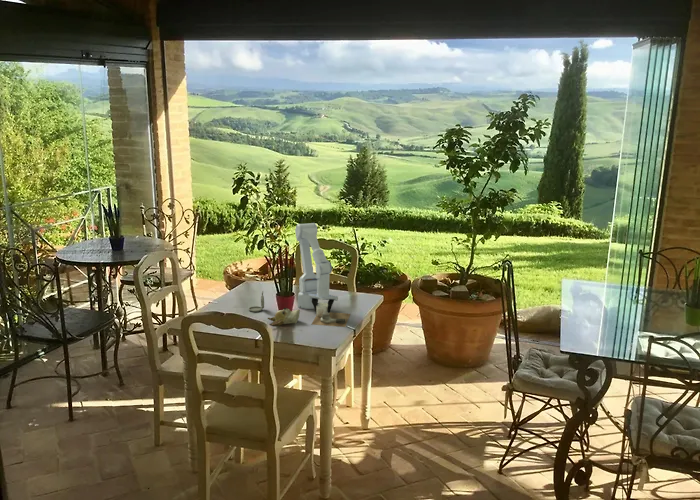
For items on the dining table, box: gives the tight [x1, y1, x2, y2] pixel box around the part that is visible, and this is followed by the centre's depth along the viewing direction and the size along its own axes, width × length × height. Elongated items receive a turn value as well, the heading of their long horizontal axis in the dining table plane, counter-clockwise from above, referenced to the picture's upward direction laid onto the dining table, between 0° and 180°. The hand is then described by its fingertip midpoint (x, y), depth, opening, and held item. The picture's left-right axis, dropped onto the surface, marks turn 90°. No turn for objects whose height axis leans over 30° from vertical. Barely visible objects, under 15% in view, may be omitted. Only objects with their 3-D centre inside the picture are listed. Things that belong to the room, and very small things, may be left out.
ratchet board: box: [311, 311, 351, 328], centre depth 278 cm, size 16×19×6 cm
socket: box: [315, 302, 328, 317], centre depth 282 cm, size 5×5×6 cm
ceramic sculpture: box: [267, 307, 301, 327], centre depth 272 cm, size 11×9×15 cm
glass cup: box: [248, 290, 265, 313], centre depth 291 cm, size 8×8×10 cm
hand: (322, 313), depth 282 cm, fingers closed on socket, 5 cm apart
